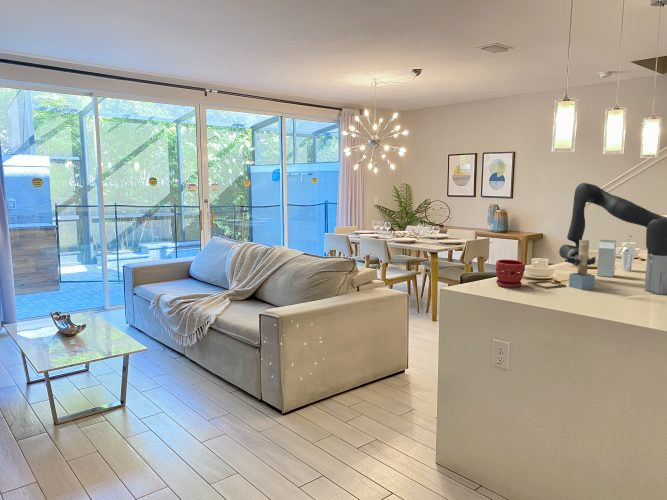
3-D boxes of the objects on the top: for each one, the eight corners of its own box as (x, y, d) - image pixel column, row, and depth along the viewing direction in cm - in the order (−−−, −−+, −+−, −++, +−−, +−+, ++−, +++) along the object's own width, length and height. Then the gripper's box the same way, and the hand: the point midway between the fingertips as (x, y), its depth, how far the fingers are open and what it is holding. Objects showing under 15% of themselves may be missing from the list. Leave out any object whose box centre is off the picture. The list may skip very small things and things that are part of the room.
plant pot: (492, 287, 235) (493, 262, 234) (497, 282, 247) (498, 258, 245) (521, 289, 229) (523, 264, 228) (525, 284, 241) (526, 260, 239)
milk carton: (612, 277, 257) (614, 241, 254) (596, 275, 261) (599, 240, 258) (614, 275, 262) (616, 239, 260) (599, 273, 267) (601, 238, 264)
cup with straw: (637, 270, 276) (640, 234, 273) (631, 272, 270) (634, 236, 267) (621, 268, 282) (623, 233, 279) (615, 270, 276) (617, 234, 273)
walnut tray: (566, 288, 232) (566, 284, 232) (545, 290, 228) (545, 286, 228) (547, 283, 243) (547, 280, 243) (527, 285, 239) (527, 282, 239)
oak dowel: (588, 288, 228) (591, 240, 225) (581, 288, 227) (584, 241, 224) (581, 286, 232) (584, 239, 229) (574, 286, 231) (577, 240, 228)
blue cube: (593, 290, 227) (594, 275, 226) (581, 291, 225) (582, 276, 224) (581, 286, 234) (582, 272, 233) (568, 288, 232) (569, 273, 231)
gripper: (561, 248, 243) (567, 253, 227) (593, 249, 239) (602, 254, 223) (560, 264, 244) (566, 270, 228) (592, 265, 240) (601, 271, 224)
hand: (584, 262), depth 225 cm, fingers closed on oak dowel, 4 cm apart
